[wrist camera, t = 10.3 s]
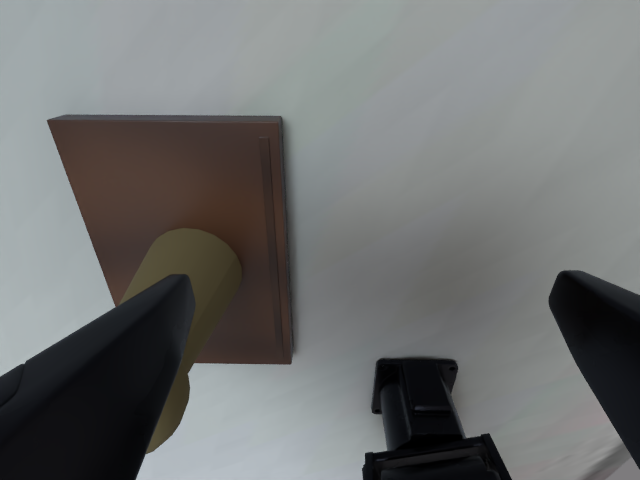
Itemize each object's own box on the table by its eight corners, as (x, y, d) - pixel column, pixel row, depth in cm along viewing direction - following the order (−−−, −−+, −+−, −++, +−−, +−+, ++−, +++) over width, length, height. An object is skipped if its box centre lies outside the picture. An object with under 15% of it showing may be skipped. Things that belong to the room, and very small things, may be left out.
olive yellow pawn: (163, 307, 24) (56, 482, 15) (134, 230, 21) (-24, 386, 12) (249, 304, 24) (198, 479, 14) (232, 225, 21) (153, 380, 11)
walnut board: (293, 349, 28) (291, 365, 27) (144, 347, 28) (135, 363, 27) (281, 115, 19) (278, 121, 18) (64, 114, 19) (44, 120, 18)
